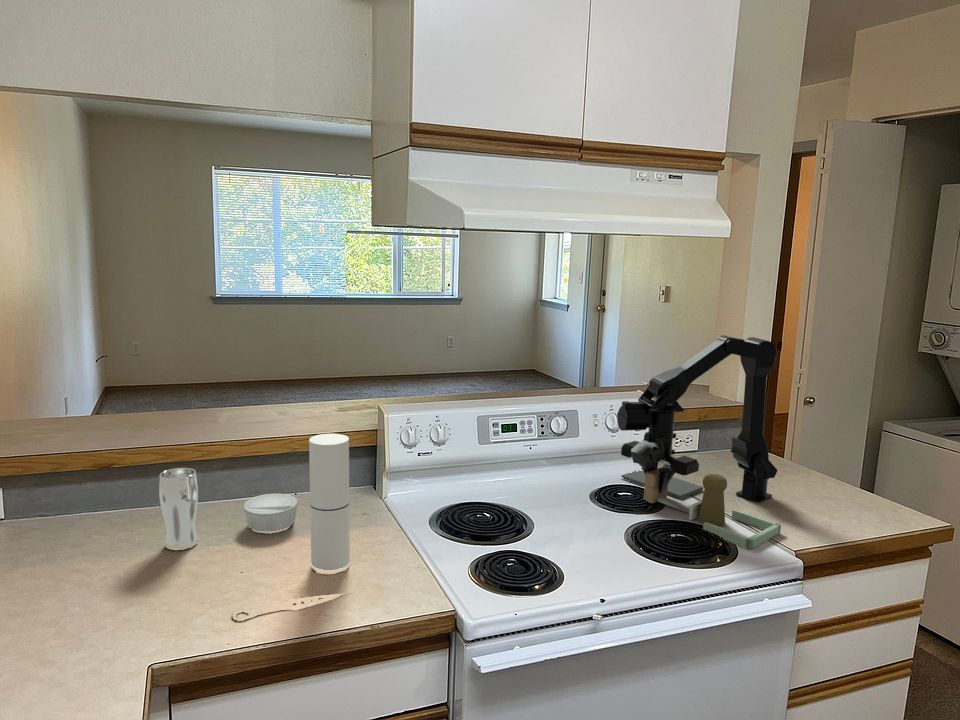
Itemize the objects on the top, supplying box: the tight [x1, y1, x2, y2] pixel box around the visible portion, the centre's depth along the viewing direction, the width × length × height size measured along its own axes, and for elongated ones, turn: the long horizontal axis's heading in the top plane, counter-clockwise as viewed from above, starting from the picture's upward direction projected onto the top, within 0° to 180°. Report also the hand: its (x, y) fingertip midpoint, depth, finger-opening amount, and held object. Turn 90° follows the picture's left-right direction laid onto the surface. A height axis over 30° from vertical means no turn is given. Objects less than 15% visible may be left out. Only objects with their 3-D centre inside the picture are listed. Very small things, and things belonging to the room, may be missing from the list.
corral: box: [702, 508, 782, 550], centre depth 153 cm, size 13×11×2 cm
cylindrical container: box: [308, 433, 351, 570], centre depth 130 cm, size 7×7×25 cm
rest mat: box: [621, 470, 704, 500], centre depth 181 cm, size 10×18×1 cm, turn 41°
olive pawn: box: [696, 473, 728, 528], centre depth 157 cm, size 6×6×11 cm
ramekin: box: [242, 493, 299, 531], centre depth 149 cm, size 11×11×5 cm
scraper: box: [643, 468, 702, 521], centre depth 165 cm, size 7×14×7 cm, turn 41°
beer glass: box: [158, 467, 199, 546], centre depth 138 cm, size 7×7×15 cm
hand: (656, 491), depth 169 cm, fingers closed on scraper, 2 cm apart
